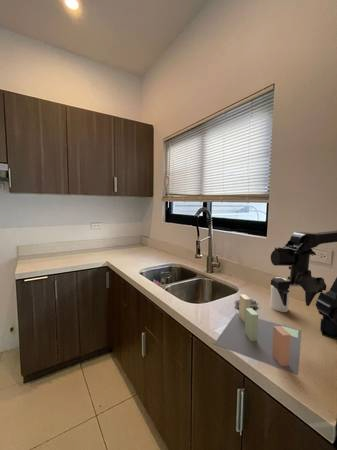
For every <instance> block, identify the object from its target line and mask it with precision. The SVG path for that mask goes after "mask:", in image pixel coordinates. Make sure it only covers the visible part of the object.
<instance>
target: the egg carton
mask: <svg viewBox="0 0 337 450" xmlns="http://www.w3.org/2000/svg"><path fill="white" fill-rule="evenodd" d="M239 301H240V299H239V300H238V299H237V300H234V304H235V308H236V309H239ZM258 305H260V304H259V302H257V301H255V300H254V299H252V298H250V308H252V309H253V310H254V309H257V307H258Z"/></svg>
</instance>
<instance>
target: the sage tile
mask: <svg viewBox="0 0 337 450" xmlns="http://www.w3.org/2000/svg"><path fill="white" fill-rule="evenodd" d="M258 319H259V313H257V312H256V311H255V310H254V308H253V309H252V308H246V311H245V334H246V336H247V337H248V338H249V339H250V341H257V333H258Z"/></svg>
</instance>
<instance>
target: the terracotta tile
mask: <svg viewBox="0 0 337 450" xmlns="http://www.w3.org/2000/svg"><path fill="white" fill-rule="evenodd" d="M290 340H291V335H290V334H289V333H288V332H287V331H286V330H285V329H284V328H282V327H281V326H274V329H273V348H272V356H273V357H274V358H275V359H276V360H277V362H278V363H279V364H280V365H281V366H289V356H290Z"/></svg>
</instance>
